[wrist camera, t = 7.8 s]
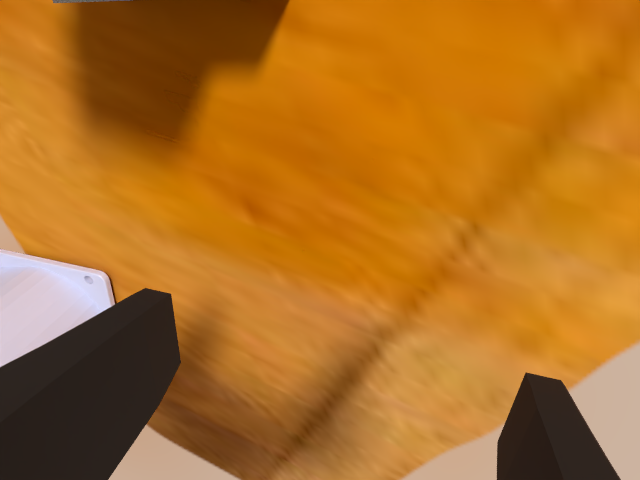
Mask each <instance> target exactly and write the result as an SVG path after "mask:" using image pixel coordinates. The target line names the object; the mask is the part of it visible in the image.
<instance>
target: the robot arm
mask: <svg viewBox="0 0 640 480" xmlns="http://www.w3.org/2000/svg"><path fill="white" fill-rule="evenodd" d="M180 363H181V360H180V353H179V346H178V340H177V333H176V326H175V319H174V312H173V305H172V298H171V294H169V293H165V292H160V291H156V290H151V289H147V288H145V289H143V290H141V291H139V292H137V293H135V294H133V295H131V296H129V297H128V298H126V299H124V300H122V301H120V302H119V303H117V304H115V302H114V297H113V293H112V289H111V284H110V280H109V277H108V276H107V274H106V273H104V272H102V271H100V270H95V269H91V268H86V267H82V266H77V265H72V264H68V263H63V262H59V261H54V260H50V259H45V258H40V257H36V256H31V255H27V254H22V253H17V252H13V251H8V250H4V249H0V480H108V479H109V477H110V476H111V475H112V473H113V472H114V470H115V469H116V467H117V466H118V464H119V463H120V461H121V460H122V459H123V457H124V456H125V454H126V453H127V451H128V450H129V448H130V447H131V445H132V444H133V443H134V441H135V440H136V438H137V437H138V435H139V434H140V432H141V431H142V429H143V428H144V426H145V425H146V424H147V422H148V421H149V419H150V418H151V416H152V415H153V413H154V412H155V410H156V409H157V407H158V406H159V404H160V402H161V400H162V398H163V396H164V395H165V393H166V391H167V389H168V387H169V385H170V383H171V381H172V379H173V377H174V375H175V373H176V371H177V369H178V367H179V365H180ZM497 480H621V479H620V478H619V476H618V475H617V473H616V471H615V470H614V468H613V467H612V465H611V463H610V462H609V460H608V458H607V457H606V455H605V453H604V452H603V450H602V448H601V447H600V445H599V443H598V442H597V440H596V438H595V437H594V435H593V434H592V432H591V430H590V428H589V427H588V425H587V423H586V421H585V420H584V418H583V416H582V415H581V413H580V411H579V410H578V408H577V406H576V404H575V402H574V401H573V399H572V397H571V396H570V394H569V392H568V390H567V389H566V387H565V385H564V384H563V382H562V381H561V380H557V379H553V378H548V377H544V376H539V375H535V374H530V373H525V376H524V378H523V381H522V383H521V386H520V388H519V391H518V393H517V396H516V398H515V400H514V403H513V405H512V408H511V410H510V413H509V415H508V418H507V420H506V423H505V425H504V427H503V430H502V432H501V435H500V437H499V440H498V448H497Z"/></svg>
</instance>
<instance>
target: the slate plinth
mask: <svg viewBox="0 0 640 480" xmlns="http://www.w3.org/2000/svg"><path fill="white" fill-rule="evenodd" d="M101 1H131V0H53V3H71V2H101Z"/></svg>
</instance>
